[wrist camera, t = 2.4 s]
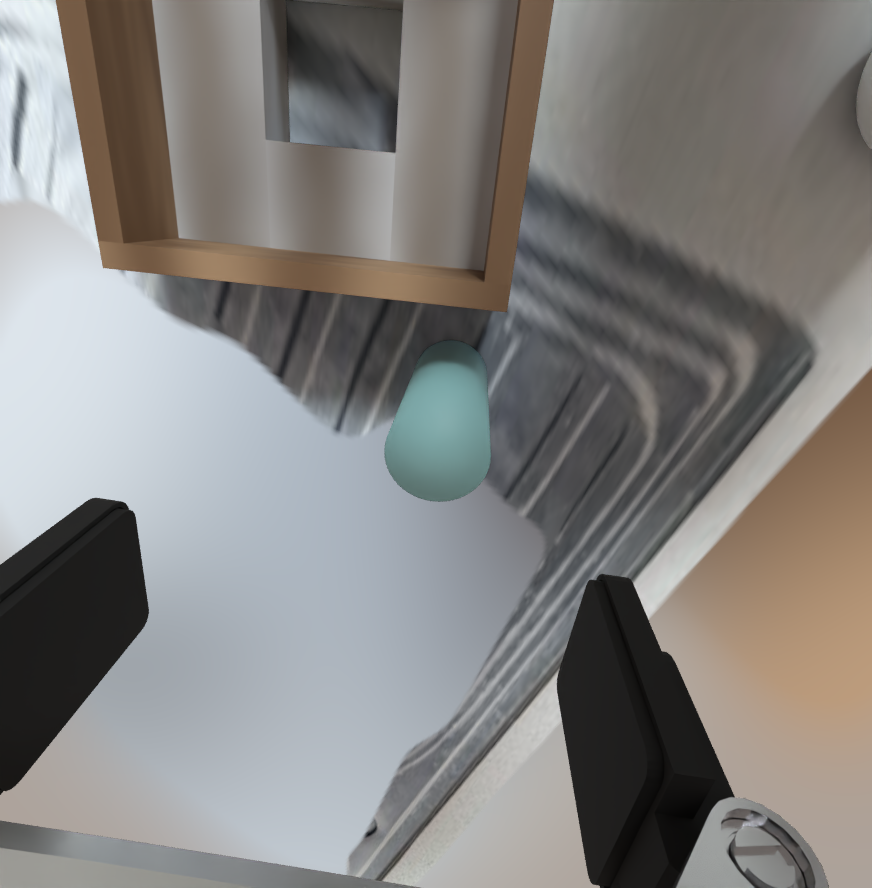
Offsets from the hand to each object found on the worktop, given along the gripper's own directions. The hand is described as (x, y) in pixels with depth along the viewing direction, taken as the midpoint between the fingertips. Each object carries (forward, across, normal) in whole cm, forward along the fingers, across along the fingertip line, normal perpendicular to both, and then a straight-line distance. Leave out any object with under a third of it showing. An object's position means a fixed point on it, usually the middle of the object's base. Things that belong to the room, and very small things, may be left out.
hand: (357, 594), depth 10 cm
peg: (+19, -1, +1) cm, 19 cm away
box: (+19, +5, -12) cm, 23 cm away
